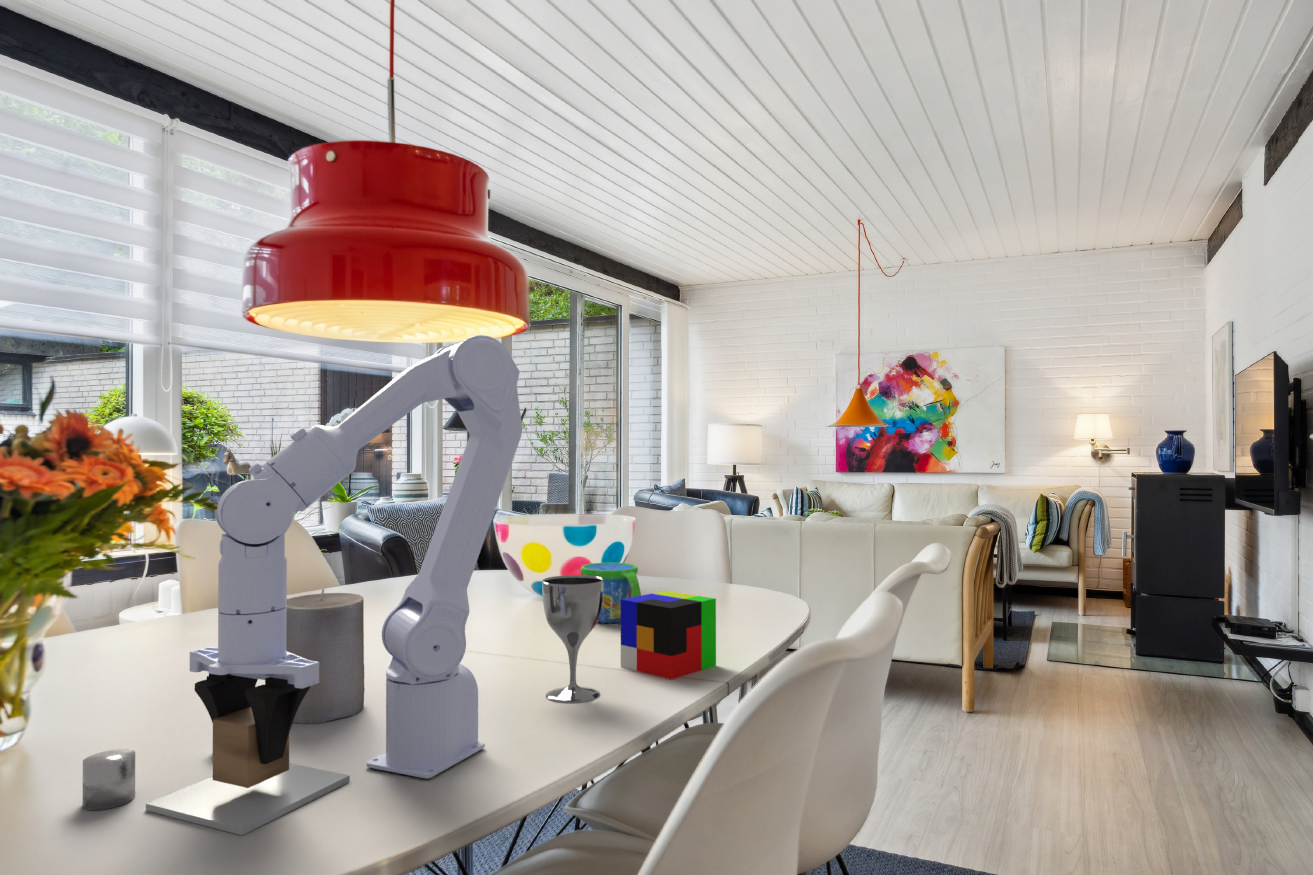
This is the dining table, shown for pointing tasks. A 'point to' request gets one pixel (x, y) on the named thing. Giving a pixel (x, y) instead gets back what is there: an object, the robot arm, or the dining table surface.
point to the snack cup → (614, 587)
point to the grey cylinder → (108, 779)
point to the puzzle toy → (668, 633)
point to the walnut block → (241, 752)
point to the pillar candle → (329, 653)
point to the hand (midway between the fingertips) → (252, 755)
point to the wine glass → (572, 624)
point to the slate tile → (247, 799)
